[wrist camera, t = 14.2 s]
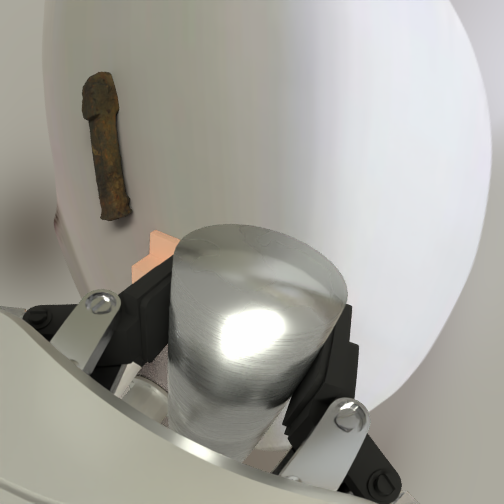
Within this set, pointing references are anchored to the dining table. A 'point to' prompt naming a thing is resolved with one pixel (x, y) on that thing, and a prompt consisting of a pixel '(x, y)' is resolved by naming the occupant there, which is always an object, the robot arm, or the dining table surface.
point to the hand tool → (105, 144)
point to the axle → (244, 331)
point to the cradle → (155, 254)
